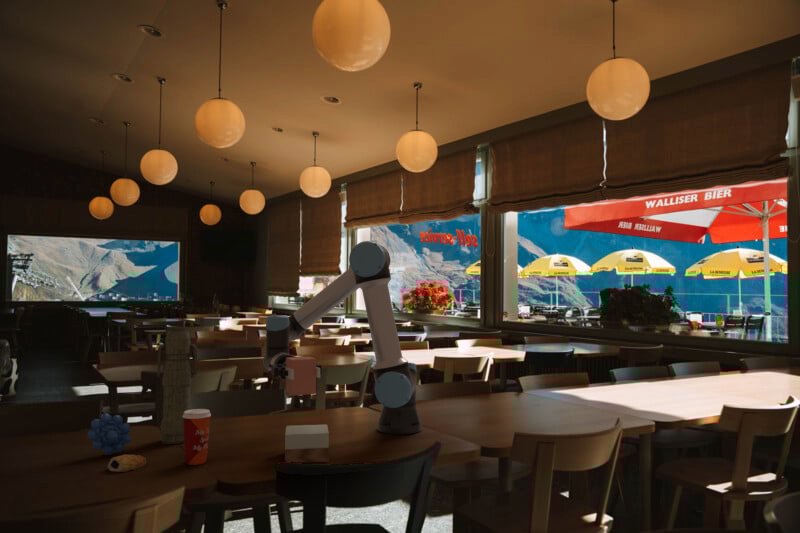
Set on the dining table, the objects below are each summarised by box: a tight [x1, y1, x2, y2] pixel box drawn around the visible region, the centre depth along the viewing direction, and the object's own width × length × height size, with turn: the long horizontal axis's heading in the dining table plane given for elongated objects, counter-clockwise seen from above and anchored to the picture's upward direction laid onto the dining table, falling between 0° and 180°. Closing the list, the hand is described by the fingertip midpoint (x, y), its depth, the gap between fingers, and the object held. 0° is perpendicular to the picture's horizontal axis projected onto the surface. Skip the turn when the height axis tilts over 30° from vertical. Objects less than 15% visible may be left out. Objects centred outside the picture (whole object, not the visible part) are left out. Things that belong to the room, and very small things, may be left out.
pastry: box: [107, 454, 147, 473], centre depth 164 cm, size 9×7×4 cm
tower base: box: [284, 447, 330, 463], centre depth 176 cm, size 12×12×4 cm
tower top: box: [284, 424, 330, 450], centre depth 176 cm, size 12×12×4 cm
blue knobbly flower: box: [87, 412, 132, 456], centre depth 175 cm, size 12×7×12 cm, turn 128°
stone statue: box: [156, 328, 199, 445], centre depth 194 cm, size 9×12×35 cm
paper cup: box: [182, 408, 212, 466], centre depth 169 cm, size 8×8×14 cm
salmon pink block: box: [285, 356, 317, 396], centre depth 178 cm, size 7×7×10 cm
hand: (305, 373), depth 173 cm, fingers closed on salmon pink block, 7 cm apart
